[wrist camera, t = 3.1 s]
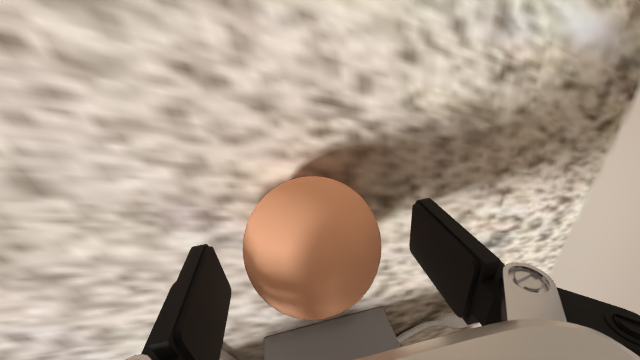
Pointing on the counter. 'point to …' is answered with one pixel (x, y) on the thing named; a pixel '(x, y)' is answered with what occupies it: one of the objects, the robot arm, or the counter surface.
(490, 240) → the counter surface
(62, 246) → the counter surface
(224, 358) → the test tube rack
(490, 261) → the robot arm
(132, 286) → the counter surface
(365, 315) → the grey open square box
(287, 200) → the ball
